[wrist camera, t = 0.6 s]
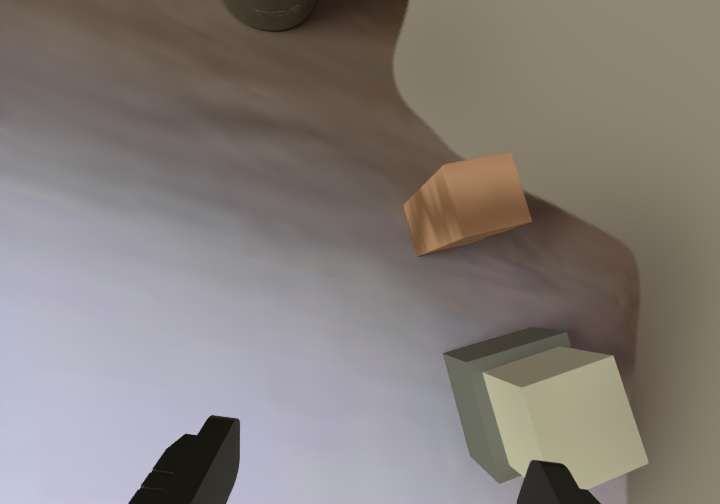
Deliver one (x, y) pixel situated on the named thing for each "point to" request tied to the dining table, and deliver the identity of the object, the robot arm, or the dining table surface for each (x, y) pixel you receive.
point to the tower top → (566, 414)
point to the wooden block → (466, 204)
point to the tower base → (474, 393)
